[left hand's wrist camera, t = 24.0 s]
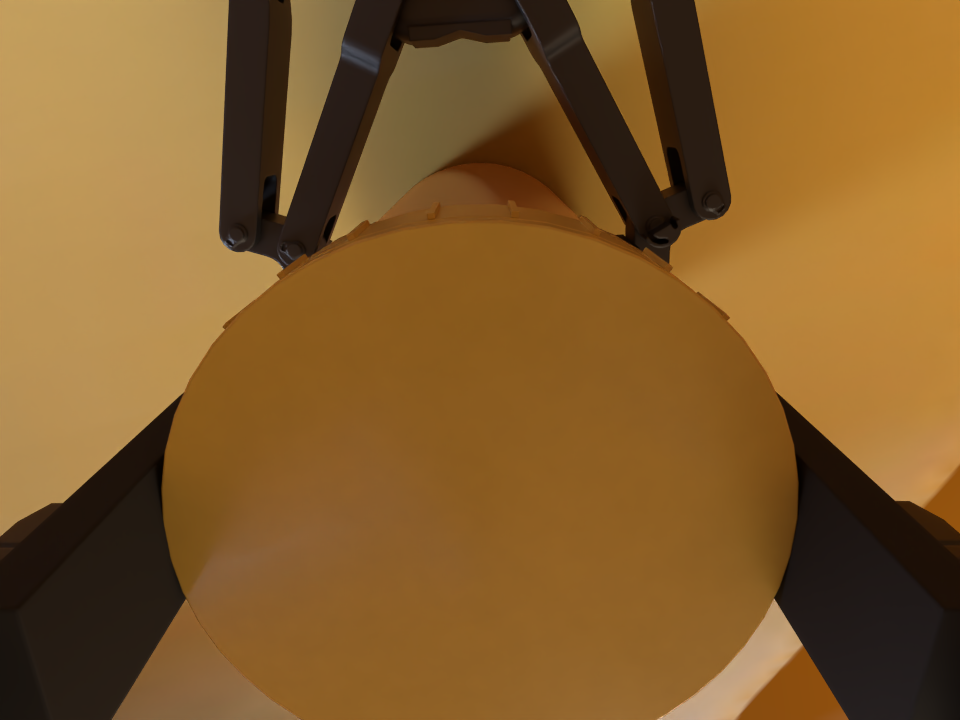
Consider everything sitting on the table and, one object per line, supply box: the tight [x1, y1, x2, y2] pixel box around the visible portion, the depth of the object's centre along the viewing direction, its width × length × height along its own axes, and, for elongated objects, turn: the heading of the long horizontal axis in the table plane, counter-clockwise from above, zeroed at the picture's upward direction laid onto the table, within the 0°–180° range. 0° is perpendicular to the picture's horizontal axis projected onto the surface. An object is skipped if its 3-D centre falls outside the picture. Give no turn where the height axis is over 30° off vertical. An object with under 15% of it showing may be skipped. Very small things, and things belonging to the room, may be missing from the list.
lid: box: [161, 200, 799, 720], centre depth 11 cm, size 10×10×2 cm
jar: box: [377, 163, 580, 222], centre depth 20 cm, size 9×9×19 cm
